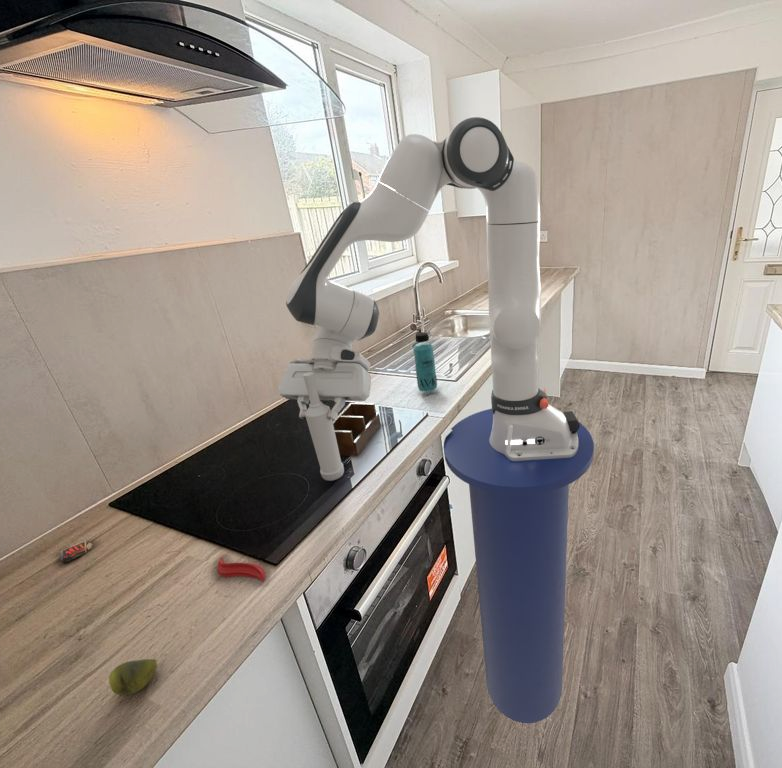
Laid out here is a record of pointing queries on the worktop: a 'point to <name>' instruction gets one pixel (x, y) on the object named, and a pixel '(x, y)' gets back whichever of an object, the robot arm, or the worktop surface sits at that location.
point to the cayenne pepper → (240, 570)
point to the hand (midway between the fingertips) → (317, 418)
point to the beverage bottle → (425, 363)
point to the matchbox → (74, 551)
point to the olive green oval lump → (132, 676)
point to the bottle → (322, 433)
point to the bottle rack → (356, 427)
